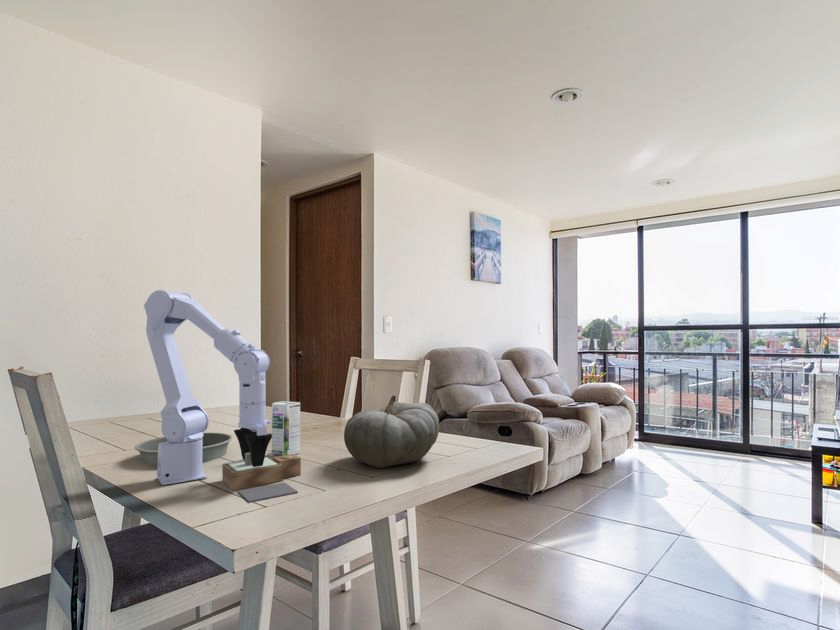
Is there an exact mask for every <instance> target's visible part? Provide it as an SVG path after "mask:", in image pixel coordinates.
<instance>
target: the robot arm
mask: <svg viewBox="0 0 840 630" xmlns="http://www.w3.org/2000/svg"><path fill="white" fill-rule="evenodd" d="M143 306H144V310H145V314H146V328H145V331H146V336H147V340H148V343H149V347H150V351H151V355H152V357H153V361H154V363H155V365H154V366H155V368H156V370H157V375H158V378H159V381H160V385H161V388H162V393H163V395H164V399H165V401H166V403H165V405H164V407H163V408H162V409H161V411H160V415H161V432H162V434H163V437H165V438H166V439H167V442H163V443H159V445H158V466H157V468H156V475H157V476H156V478H157V480H158V481H159V483H160V484H161V486H165V485H172V484H177V483H185V482H190V481H195V480H196V481H197V480H203V479H207V478H208V475H207V474H206V473H205V472H204V471H203V462H202V445H203V436H204V433H205V432H206V430H208V427H209V424H210V418H209V415H208V413H207V412H206V411H205V410H204V408H203V407H202V406H203V405H202V404H201V401H199V400H198V399H197V398H196V397H194V396H193V395H192V392H191V389H190V385H189V382H188V379H187V375H186V372H185V369H184V365H183V362H182V359H181V355H180V352H179V348H178V346H177V342H176V339H175V336H174V335H175V332H176V331H177V329H178V328H179V327H180V326H181V325H182V324H183V323H184V322H186V321H189V322H190V323H192V324H193V325H195V326H196V327H197V328H198V329H200V330H201V331H202V332H203V333H204V334H206V335H207V336H209V337H210V338H211V339H213V347H214V348H215V349H216V350H217V351H219V352H220V353H221V354H222V355H223V356H224V357H225V358H227V359H228V360H229V361H230V362H231V363H232V364H233V367H234V371H235V372H236V374H237V375H238V382H239V383H238V384H239V387H238V388H239V395H238V398H239V403H238V404H239V405H238V406H239V407H238V408H239V411H238V413H239V414H238V415H239V416H238V417H239V418H238V420H239V422H238V425H237V426H238V428H239V429H234V430H233V432H234V434H235V436H236V439H237V441H238V443H239V448H240V454H241V457H242V461H245V453H250V455H251V462H252V466H253V467H257V466H263V462H264V458H266V454H267V453H266V452H267V449H268V446H269V444H270V443H271V441H272V433H268V427H267V426H268V425H270V424H272V420H270V419H266V414H267V413H266V409H267V408H266V403H267V402H266V401H267V400H266V399H267V398H266V395H267V392H266V391H267V390H266V388H267V387H266V385H267V384H266V382H267V381H266V372H267V371H268V370H269V369H270V368H269V367H270V365H271V360H270V357H269V355H268V353H267V352H266V351H265V350H263V349H256V348H255V347H256V346H255V344H254V343H249V342H248V341H247V340H246V338H244V337H243V336H241V333H242V332H241V331H240V330H238V329H233V328H225V327H223V326H222V324H220V323H219V322H218V321H217V320H216V319H215V318H214V317H213V316H212V315H211V314H210V313H209V312H208V311H207V310H206V309H205V308H204V307H203V306H202V305H201V304H200V302H199V300H197V299H195V298H194V297H192V296H191V295H190V294H188V293H186V292H172V291H166V290H163V289H158V290H155V291H153V292H152V293H150V295H149V296H148V298H147V300H146V301H145V302H144V305H143Z"/></svg>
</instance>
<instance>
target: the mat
mask: <svg viewBox="0 0 840 630" xmlns="http://www.w3.org/2000/svg"><path fill="white" fill-rule="evenodd" d="M298 493H299V492H298V490H297V489H295V488H294V487H292V486H291V485H289V484H287V483H286V482H285V481H283V482H278V483H272V484H270V485H269V484H268V485H263V486H257V487H253V488H246V489H242V490H241V489H240V490H238V494H240V496H242V497H243V499H244V500H246V501H247V502H248V503H254V502H258V501H262V500H269V499H272V498H273V499H274V498H278V497H284V496H289V495H294V494H298Z"/></svg>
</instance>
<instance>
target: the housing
mask: <svg viewBox="0 0 840 630" xmlns="http://www.w3.org/2000/svg"><path fill="white" fill-rule="evenodd" d="M267 458H268V459H270V460H272V461H273V462H275V463H277V464H278V465H277V466H271V467H265V468H259V469H253V470H246V471H240V472H234V471H233V470H232V469H231V468H229V467H228V463H229V462H227V463H224V464H222V468H221V469H222V470H221V471H222V473H221V475H222V478H221V479H222V482H224V484H226V485H227V487H228V488H230V489H231V490H232V491H235V490H241V489H245V488H246V489H247V488H251V487H256V486H257V487H258V486H262V485H263V486H264V485H267V484H268V485H269V484H275V483H280V482H284V479H286V478H292V477H297V476H298V477H299V476H301V473H302V467H301V464H302V462H301V460H302V458H301V457H299V456H298V455H297V454H296V455H294V454H290V455H283V456H277V457H273V459H272V458H271V457H268V456H267ZM238 462H240V461H238Z"/></svg>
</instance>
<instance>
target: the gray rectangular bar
mask: <svg viewBox="0 0 840 630" xmlns="http://www.w3.org/2000/svg"><path fill="white" fill-rule="evenodd" d="M277 456H282V453H281V452H272V451H270V452H267V458H268V457H271V458H272V459H273V457H277Z"/></svg>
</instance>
